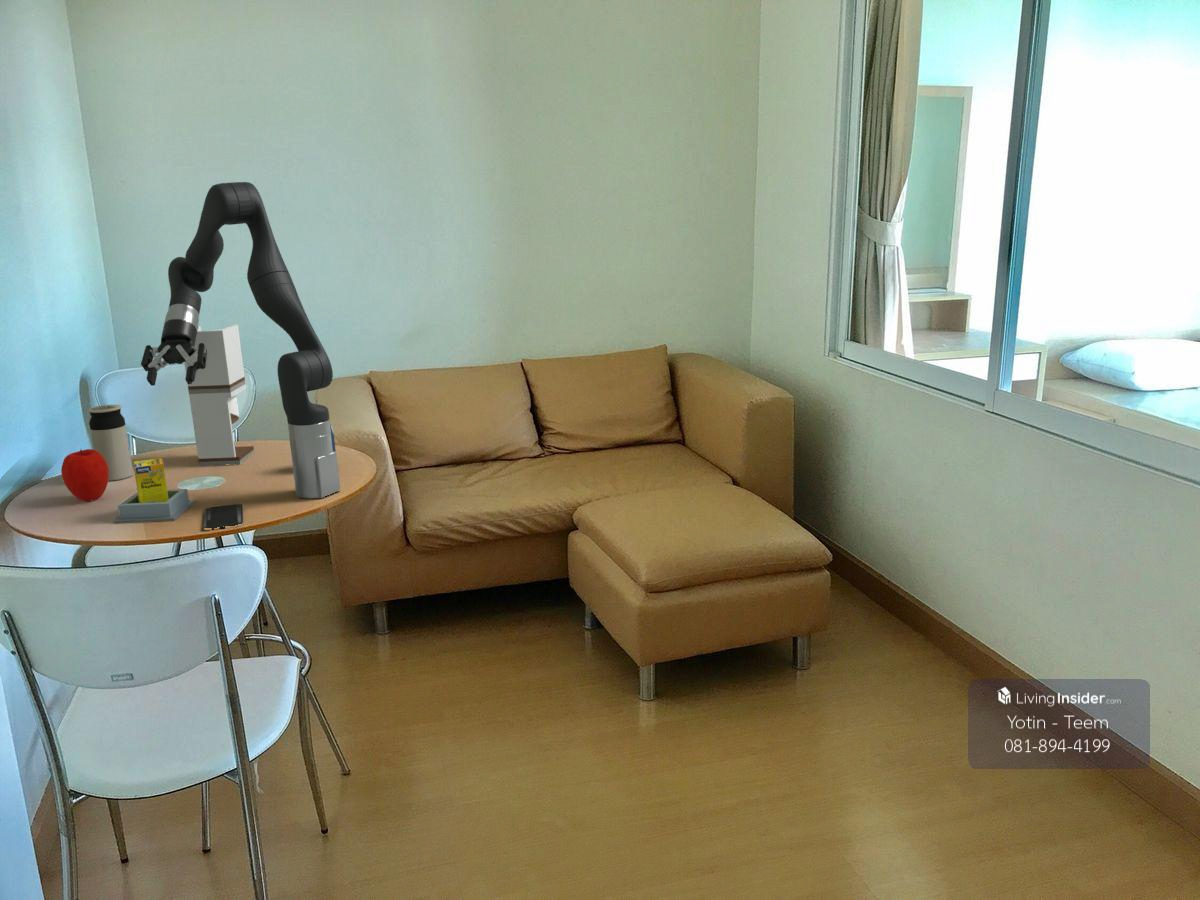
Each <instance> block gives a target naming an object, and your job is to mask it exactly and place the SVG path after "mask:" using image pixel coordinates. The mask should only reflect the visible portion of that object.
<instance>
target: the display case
mask: <svg viewBox="0 0 1200 900" xmlns="http://www.w3.org/2000/svg"><path fill="white" fill-rule="evenodd" d="M200 343H203V344H204V345H205V347H206V349H207V358H206V367H205V369H198V370H197V371H196V375H195V380H194V382H192V384H188V383H187V382H186V383H187V384H186V385H187V391H188V397H189V405H190V411H191V416H192V425H193V432H194V439H195V445H196V451H197V458H198V459H197V460H198V466H199V467H209V466H208V465H221V466H227V465H226V464H240V463H241V462H243V461H244V460H245V459H246V458H248V456H250V455H251V454H252V453H253V452H254V453H255V448H254V445H251V446H250V445H249V446H247V445H246V446H243V445H242V446H235V440H234V434H233V433H234V431H233V425H234V424H235V423H237V422H238V421H239V420H240V413H239V406H238V398H237V395H239V394H240V393H242V392H244V391H245V390H247V387H246V386H247V384H246V379H245V369H244V361H243V354H242V348H241V347H242V346H241V338H240V330H239V324H233V325H230V326H228V327H224V328H221V329H220V328H219V329H211V330H202V326H201V325H198V330H197V335H196V341H195V345H194V346H199V344H200ZM197 357H198V354H197V352H196V351H195V353H194V354H193V355H192V356H190V358H191V359H192V361H193V362H197ZM183 363H184V369H185V374H186V373H187V367H189V366H188V364H187V363H186V362H183ZM248 459H249V458H248ZM244 462H245V461H244ZM244 462H243V463H244Z"/></svg>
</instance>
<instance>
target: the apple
mask: <svg viewBox="0 0 1200 900" xmlns="http://www.w3.org/2000/svg"><path fill="white" fill-rule="evenodd" d="M60 471H61V473H60V474H61V478H62V481H63V483H64V485H65V487H66V488H67V490H68V491H69V493H71V494H72V495H73V496H74V497H75V498H77V499H78V500H81V501H84V502H92V501H91V500H93V501H96V500H98V499H100V498H101V497H102V496H103V495H104V493H105V492H106V489H107V487H108V483H109V481H108V480H109V469H108V465H107V463H106V461H105V459H104V457H103V456H102V455H101V454H100V453H99V452H98V451H95V450H94V449H93V448H92V449H90V448H86V449H83V450H82V448H80V449H79V451H74V452H71V453H69V454H67V455H66V456H65V457H64V458H63V461H62V464H61V470H60Z"/></svg>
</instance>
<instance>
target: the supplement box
mask: <svg viewBox="0 0 1200 900" xmlns="http://www.w3.org/2000/svg"><path fill="white" fill-rule="evenodd" d="M164 466H165V465H164V462H163V459H162V457H160V458H152V459H151V458H150V459H145V460H136V461H133V462H132V467H133V473H134V478H135V483H136V490H137V491H136V492H138V498H139V503H155V502H166V501H167V500H168V492H167V490H168V486H167V479H166V473H165V472H166V471H165V467H164Z"/></svg>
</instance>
